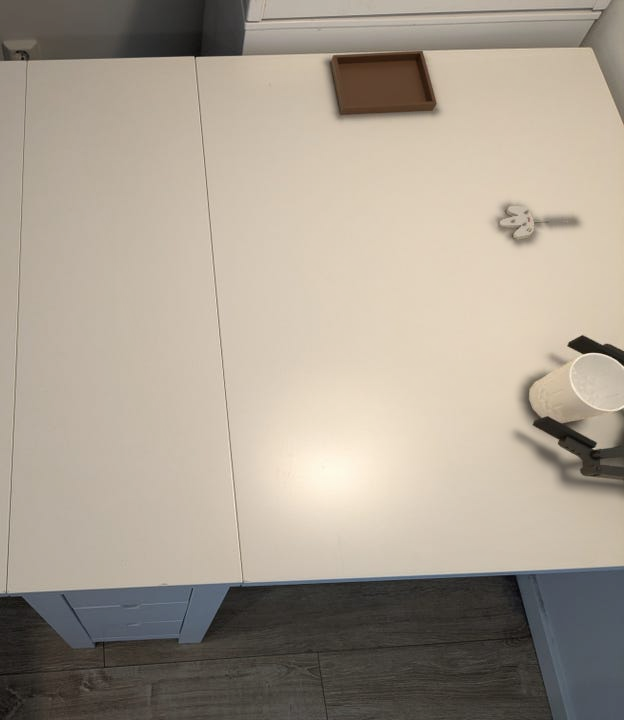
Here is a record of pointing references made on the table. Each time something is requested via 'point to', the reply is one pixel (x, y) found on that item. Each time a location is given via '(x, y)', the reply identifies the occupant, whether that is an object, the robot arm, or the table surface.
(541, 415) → the white cup
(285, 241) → the table surface
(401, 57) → the tray
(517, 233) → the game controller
